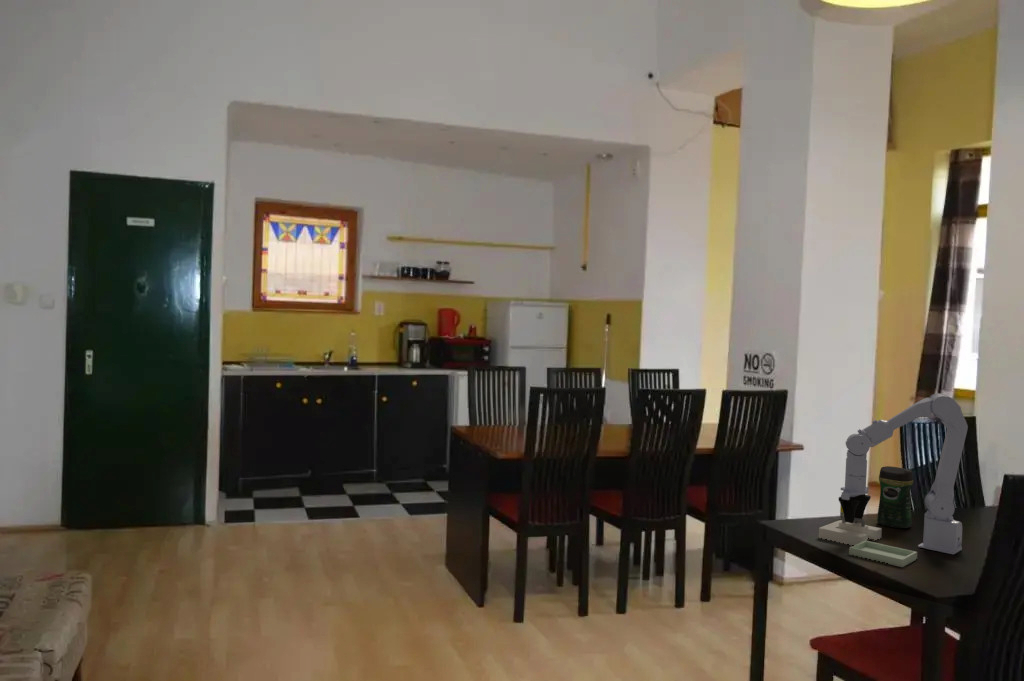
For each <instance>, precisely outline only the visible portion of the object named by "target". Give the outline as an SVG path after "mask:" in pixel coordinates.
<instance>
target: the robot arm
mask: <svg viewBox="0 0 1024 681" xmlns="http://www.w3.org/2000/svg"><path fill="white" fill-rule="evenodd" d="M933 415H934V416H936V417H937V418H938V419H940V421H941V423H942V424H943V426H945V428H946V433H945V437H944V442H943V445H942V449H941V453H940V458H939V461H938V465H937V471H936V474H935V478H934V481H933V483H932V485H931V487H930V491H929V492H928V493H927V494H926V495H925V497H924V505H925V507H926V509H927V511H926V512H925V513H924V519H923V521H924V522H923V524H924V525H923V539H922V540H923V542H921V543H920V544H918V545H917V547H918V548H921V549H922V548H923V549H925V550H931V551H936V552H940V553H944V554H949V555H955V554H958V553H959V552H960V551H962V550H963V548H962V545H963V544H962V542H963V523H962V522H961V521H959V520H955V519H954V516H953V515H954V513H955V504H954V498H955V490H954V487H955V483H956V480H957V479H956V478H957V476H958V471H959V466H960V462H961V458H962V454H963V450H964V445H965V441H966V438H967V433H968V428H969V426H968V423H967V420H966V419H965V416H964V414H963V411H962V407H961V406H960V404H959V403H957V402H956V400H955V399H954V398H952V397H951V396H947V395H946V394H944V393H939V392H938V393H934V394H931V395H930V396H929V397H925V398H923V399H921V400H919V401H917V402H915V403H913V404H912V405H910V406H909V407H906V408H905V409H904V410H902V411H901V412H899V413H897V414H895V415H894V416H892V417H891V418H889V419H888V420H886V419H885V420H884V419H879V420H877V419H874V420H873V421H871V424H870V425H869V426H866V427H865V428H863V429H860V428H859V429H858V430H857V433H852V434H850V435H849V436H848V437H847V439H846V441H845V447H846V448H847V451H846V458H845V476H844V486H842V487H840V490H841V491H842V492H841V494H842V497H841V496H839V497H838V502H839V504H840V507H841V506H842V509H843V513H844V518H845V522H848V523H855V522H854V518H859V519H863V517H864V515H865V510H866V508H867V505H868V504H869V502H870V500H871V495H868V493H869V486H867V474H868V473H867V472H868V471H867V469H868V468H867V467H868V459H867V457H868V456H867V455H868V452H869V450H870V448H874V447H876V446H877V445H880V444H881V443H883V442H885V441H886V440H888V439H890V438H892V437H893V435H894V431H895V430H897V429H899V428H900V427H903V426H904V425H907V424H908V423H910V422H913V421H914V420H916V419H918V418H922V417H923V418H926V417H927V418H933Z"/></svg>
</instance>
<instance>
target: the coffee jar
mask: <svg viewBox="0 0 1024 681" xmlns="http://www.w3.org/2000/svg"><path fill="white" fill-rule="evenodd" d="M878 475H879V476H878V481H879V486H880V487H879V488H880V493H879V494H880V495H879V501H878V503H879V504H878V508H877V517H876V522H877V523H878V524H879V525H881V526H885V525H886V526H885V527H889V526H890V528H896V529H897V528H898V529H908V528H910V527H911V526H912V511H911V510H912V509H911V508H912V506H911V489H912V488H911V487H913V483H914V477H913V471H912V469H910V468H909V469H908V468H903V467H897V466H890V465H887V466H886V465H885V466H882V467H881V468H880V470H879V474H878Z"/></svg>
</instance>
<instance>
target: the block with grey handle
mask: <svg viewBox="0 0 1024 681" xmlns="http://www.w3.org/2000/svg"><path fill="white" fill-rule="evenodd" d="M841 520H842V522H840V523H839V529H843V530H847V531H852V532H857V533H861V534H866V535H867V540H869V539H868V526H869V525H867V524H866V520H864V519H863V518H862V519H859V518H854V521H856V522H853V523H848V522H845V518H844V516H843V517H842V519H841Z"/></svg>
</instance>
